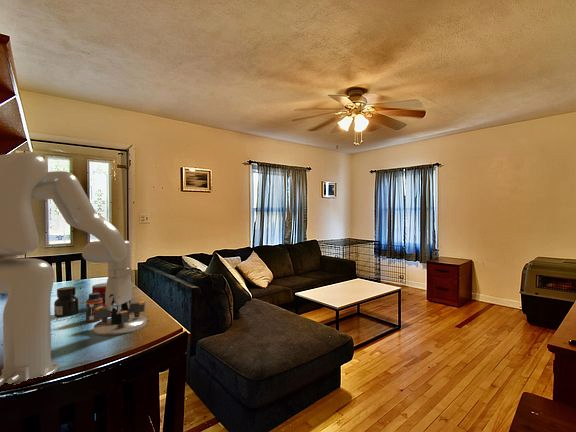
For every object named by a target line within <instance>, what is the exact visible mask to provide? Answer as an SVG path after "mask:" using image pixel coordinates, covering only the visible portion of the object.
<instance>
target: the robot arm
mask: <svg viewBox="0 0 576 432" xmlns="http://www.w3.org/2000/svg"><path fill="white" fill-rule="evenodd" d="M48 167H49V165H48V162H47V160H46V159H45V158H44V157H43V156H41V155H40V154H37V153H33V152H13V153H7V154H0V295H4V294H5V295H8V298H7V300H6V303H5V305H4V308H3V313H2V314H3V315H2V325H3V326H2V329H3V330H2V331H3V334H2V335H3V339H2V340H3V346H2V347H3V348H2V349H3V368H2V369H1V375H0V386H1V385H3V384H4V383H8V384H12V383H14V384H13V385H16V384H20V383H21V382H23V381H27V380H28V379H33V378H37V377H43V376H47V375H50V374H53V373H54V374H55V373H56V372H58V371H59V370H58V369H59V364H58V362H56V361H52V337H51V336H52V334H51V333H52V328H51V327H52V326H51V324H52V323H51V298H52V296H51V295H52V291H53V286H54V282H55V270H54V268H53V267H52V265H51V264H50V263H48V262H47V261H45V260H43V259H39V258H18V257H17V256H24V255H28V254H30V253H33V252H34V251H35V250H36V249H37V248H38V245H39V243H40V242H39V240H40V238H39V233H38V229H37V225H36V222H35V217H34V214H33V209H32V203H31V199H36V200H43V201H44V200H52V201H53V203H54V205H55V206H56V208H57V209H58V211H59V213H60V214H61V215H62V217H63V219H64V221H65V222H66V224H67V225H69V226H71V227H73V228H74V229H77V230H80V231H83V232H85V233H88V234H89V235H92V236H93V237H94V238H96V239H97V241H92V242H89V243H87V244H86V245H84V247H83V248H82V251H81V256H82V258H83V259H84V260H85V261H87V262H89V263H93V264H104V263H106V264H107V280H106V283H107V284H106V294H105V305H106V306H107V307H106V309H107V310H109V312H110V314H111V317H110V318H111V325H120V324H121V313H119V312H120V310H123V311H128V319H129V315H130V313H129V308H130V303H132V299H133V285H132V284H133V282H132V253H131V251H132V250H131V242H130V241H129V240H128V239H124V238H123V236H122V234H121V233H120V232H121V231H119V229H117V227H116V226H115V224H114V225H113V223H111V222H110V221H109V220H108V219H106V218H105V217H104V216H103V215H101V214H100V213H98V212H97V211H96V210H95V208H94V206H93V204H92V203H91V201H90V199H89V197H88V195H87V194H86V192H85V190H84V188H83V186H82V184H81V182H80V181H79V179H78V178H77V176H75V175H74V173H71V172H69V171H64V170H63V171H62V170H59V171H58V170H57V171H56V170H55V171H53V170H52V171H48V170H49V168H48ZM98 240H99V241H98ZM54 374H53V375H54Z"/></svg>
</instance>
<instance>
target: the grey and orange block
mask: <svg viewBox="0 0 576 432" xmlns="http://www.w3.org/2000/svg"><path fill="white" fill-rule="evenodd" d="M145 311H146V301H145V300H142V301H141V300H140V301H137V302H135V301H134V302H131V303H130V308H129V314H130V313H131V314H133V315H134V317H139V316H140V315H141V314H140V313H144V312H145Z"/></svg>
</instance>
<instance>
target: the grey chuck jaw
mask: <svg viewBox="0 0 576 432" xmlns="http://www.w3.org/2000/svg"><path fill="white" fill-rule="evenodd" d="M119 313H121V324H120V325H118V327H123V326H124V322H127V321H128V311H123V310H120V312H119Z"/></svg>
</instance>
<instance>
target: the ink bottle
mask: <svg viewBox="0 0 576 432" xmlns="http://www.w3.org/2000/svg"><path fill="white" fill-rule="evenodd" d="M76 290H77V287H76V286H64V287H60V288H57V289H56V297H57V299H56V300H55V301H54V302H53V304H54V306H53V307H54V309H53V311H54V314H53V315H54V317H56V318H64V317H69V316H70V317H71V316H74V315H76V314H78V313H79V311H80V310H79V309H80V306H79V305H80V304H79V297H77V296H76Z"/></svg>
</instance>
